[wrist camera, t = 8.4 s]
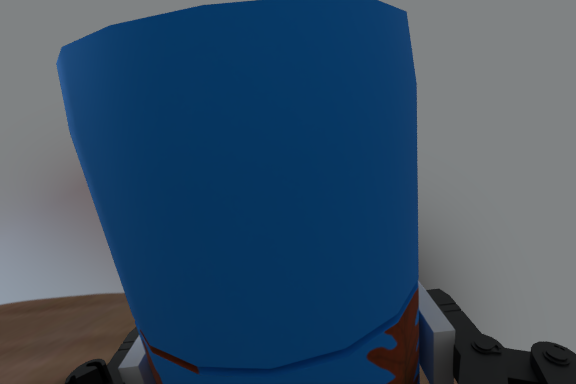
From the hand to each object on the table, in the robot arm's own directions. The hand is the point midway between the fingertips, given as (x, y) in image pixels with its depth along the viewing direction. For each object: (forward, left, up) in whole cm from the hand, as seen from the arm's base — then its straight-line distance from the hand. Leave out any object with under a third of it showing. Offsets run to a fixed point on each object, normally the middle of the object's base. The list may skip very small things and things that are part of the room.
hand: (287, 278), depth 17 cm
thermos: (+4, -2, -14) cm, 14 cm away
